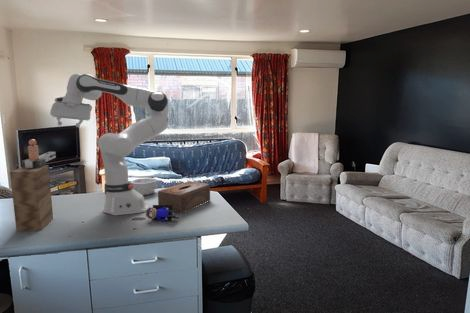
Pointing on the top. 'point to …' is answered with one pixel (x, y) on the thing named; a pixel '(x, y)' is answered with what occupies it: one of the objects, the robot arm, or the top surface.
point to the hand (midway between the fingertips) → (68, 126)
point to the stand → (32, 196)
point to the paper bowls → (145, 185)
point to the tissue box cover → (184, 195)
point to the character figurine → (161, 212)
